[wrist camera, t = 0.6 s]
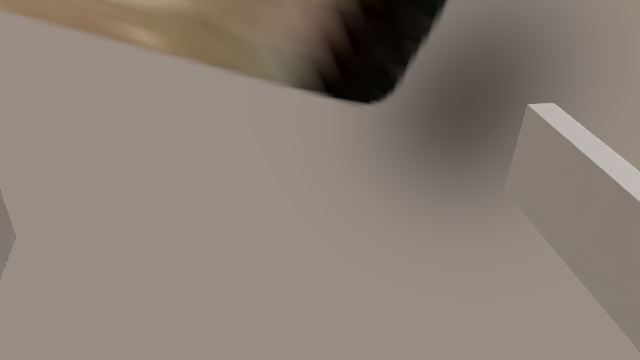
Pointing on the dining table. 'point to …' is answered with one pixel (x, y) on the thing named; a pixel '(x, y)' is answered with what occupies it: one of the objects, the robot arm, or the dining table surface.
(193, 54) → the dining table surface
